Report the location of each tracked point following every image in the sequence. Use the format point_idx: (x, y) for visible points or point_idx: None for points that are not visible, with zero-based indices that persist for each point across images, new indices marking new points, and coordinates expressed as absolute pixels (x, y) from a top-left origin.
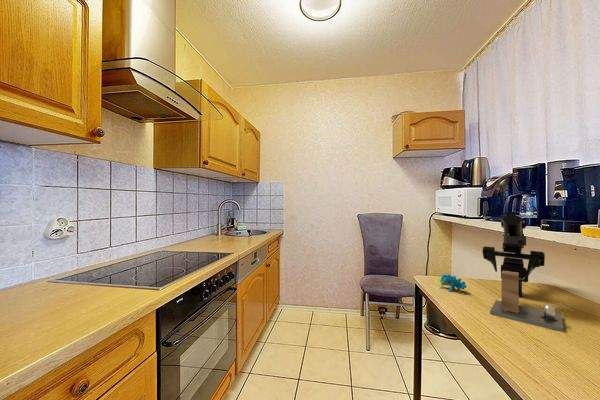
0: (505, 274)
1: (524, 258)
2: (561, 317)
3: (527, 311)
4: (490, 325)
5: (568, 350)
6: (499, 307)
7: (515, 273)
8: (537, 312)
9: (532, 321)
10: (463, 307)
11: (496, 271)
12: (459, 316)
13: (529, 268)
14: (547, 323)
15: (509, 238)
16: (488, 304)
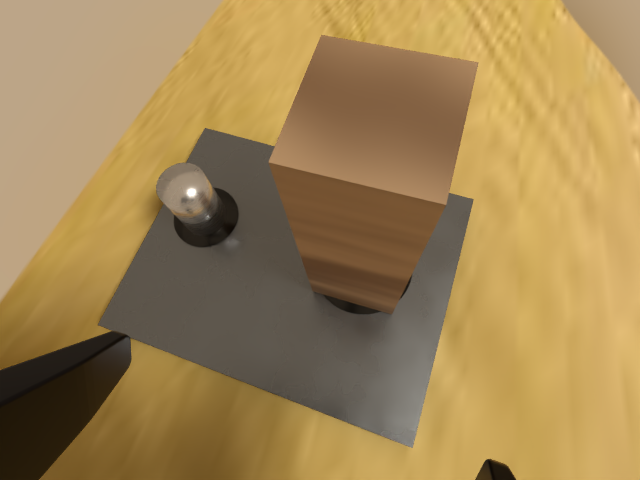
0: (435, 67)
1: None
2: (132, 262)
3: (273, 280)
4: (479, 77)
5: (274, 7)
6: (415, 278)
7: (322, 103)
8: (222, 290)
9: None
10: (607, 248)
11: (479, 474)
12: (608, 111)
13: (5, 376)
14: (247, 147)
15: None
16: (460, 389)
